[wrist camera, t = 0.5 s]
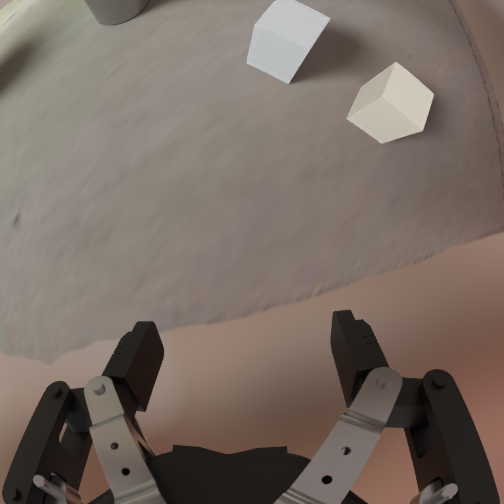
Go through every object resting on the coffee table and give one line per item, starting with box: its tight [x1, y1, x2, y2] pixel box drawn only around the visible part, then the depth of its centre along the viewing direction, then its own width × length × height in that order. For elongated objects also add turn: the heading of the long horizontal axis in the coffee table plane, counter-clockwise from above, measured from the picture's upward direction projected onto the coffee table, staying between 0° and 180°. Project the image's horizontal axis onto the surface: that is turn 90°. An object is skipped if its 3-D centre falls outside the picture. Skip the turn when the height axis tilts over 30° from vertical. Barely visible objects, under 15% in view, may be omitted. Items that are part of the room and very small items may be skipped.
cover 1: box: [246, 0, 330, 84], centre depth 28 cm, size 7×7×10 cm
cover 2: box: [346, 62, 434, 144], centre depth 31 cm, size 7×7×10 cm
